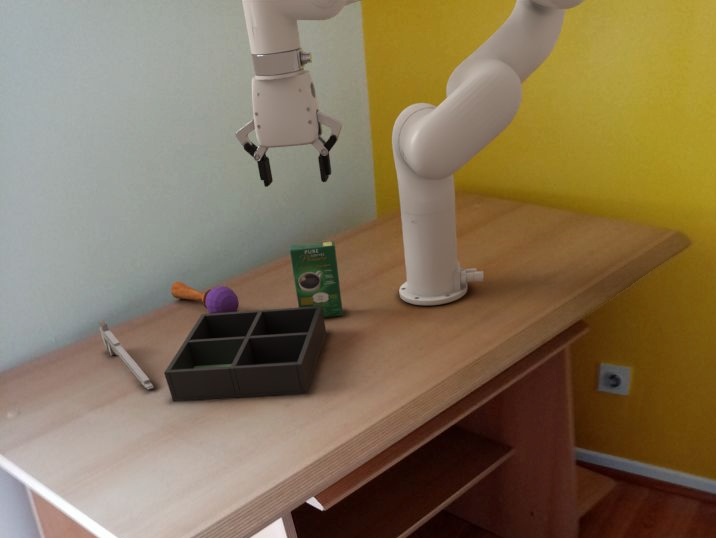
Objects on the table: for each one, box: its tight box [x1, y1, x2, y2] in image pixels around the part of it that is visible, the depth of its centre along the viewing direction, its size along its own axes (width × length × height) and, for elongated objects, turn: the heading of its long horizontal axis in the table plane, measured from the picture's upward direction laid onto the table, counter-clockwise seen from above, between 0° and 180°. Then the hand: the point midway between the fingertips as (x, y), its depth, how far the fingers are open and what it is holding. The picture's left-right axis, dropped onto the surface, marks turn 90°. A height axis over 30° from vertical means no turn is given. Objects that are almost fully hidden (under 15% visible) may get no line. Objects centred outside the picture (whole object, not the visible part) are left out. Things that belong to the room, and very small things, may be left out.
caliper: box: [98, 320, 154, 391], centre depth 127 cm, size 20×1×6 cm, turn 35°
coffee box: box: [289, 240, 344, 319], centre depth 135 cm, size 8×3×13 cm, turn 93°
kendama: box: [170, 281, 240, 314], centre depth 146 cm, size 6×6×20 cm
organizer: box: [163, 306, 327, 402], centre depth 124 cm, size 21×21×5 cm
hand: (296, 182), depth 126 cm, fingers open, 9 cm apart
